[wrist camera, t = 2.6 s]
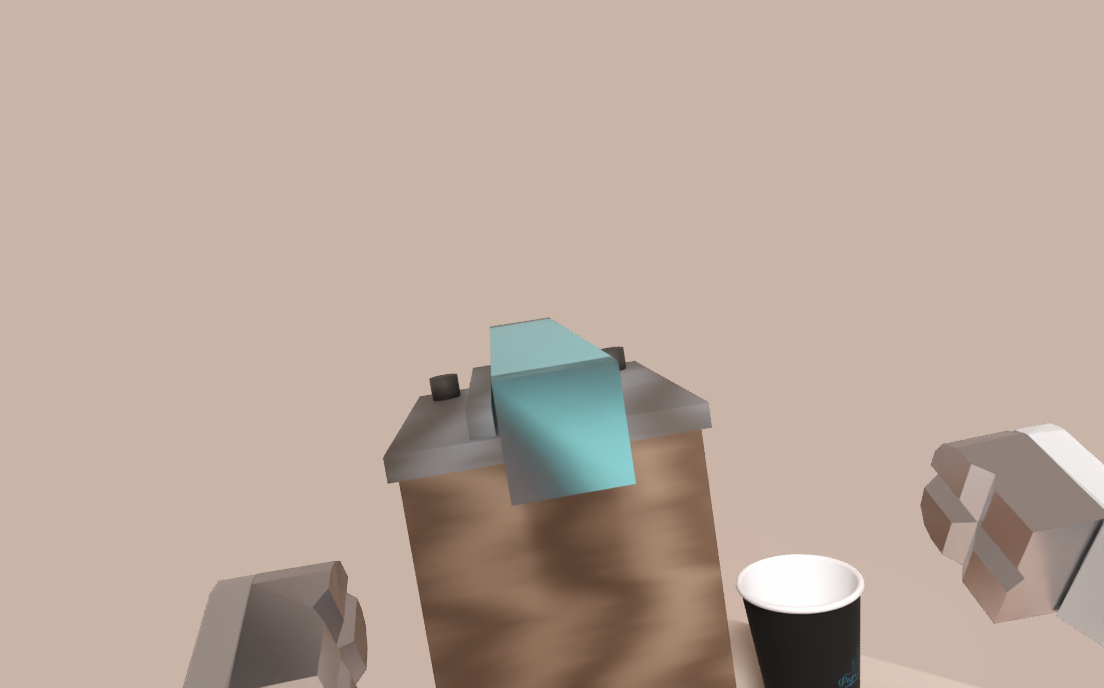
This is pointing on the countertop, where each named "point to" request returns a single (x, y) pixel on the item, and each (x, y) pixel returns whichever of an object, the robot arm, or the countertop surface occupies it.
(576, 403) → the long teal bar
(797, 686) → the dixie cup
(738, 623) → the countertop surface
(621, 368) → the brown boxy piece
